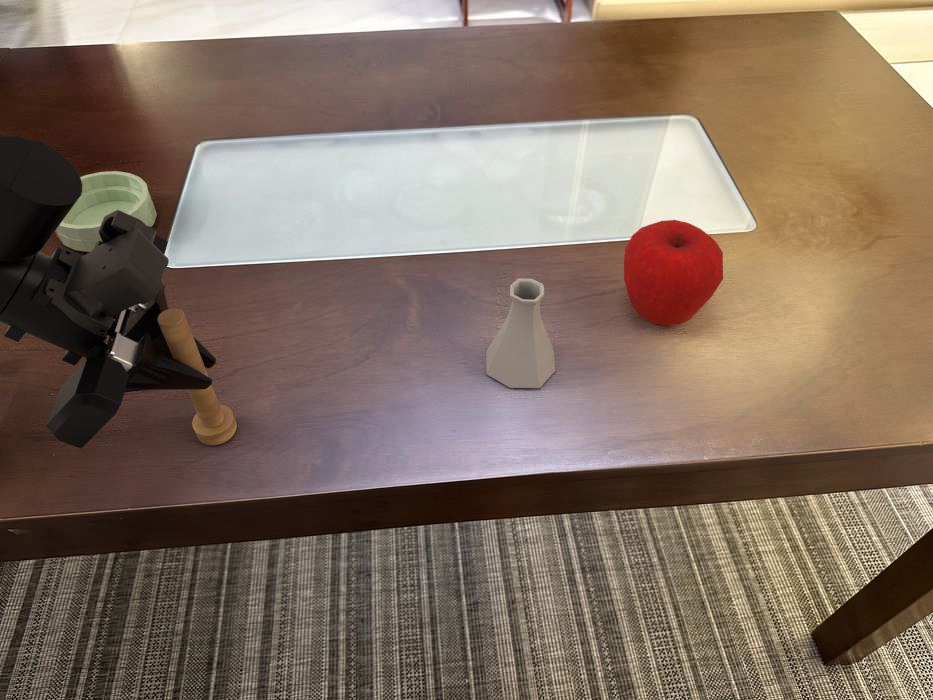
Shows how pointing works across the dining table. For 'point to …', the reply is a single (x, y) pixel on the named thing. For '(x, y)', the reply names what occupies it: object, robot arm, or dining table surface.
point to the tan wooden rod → (211, 417)
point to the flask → (522, 341)
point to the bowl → (104, 207)
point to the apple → (671, 271)
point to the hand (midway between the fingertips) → (211, 374)
